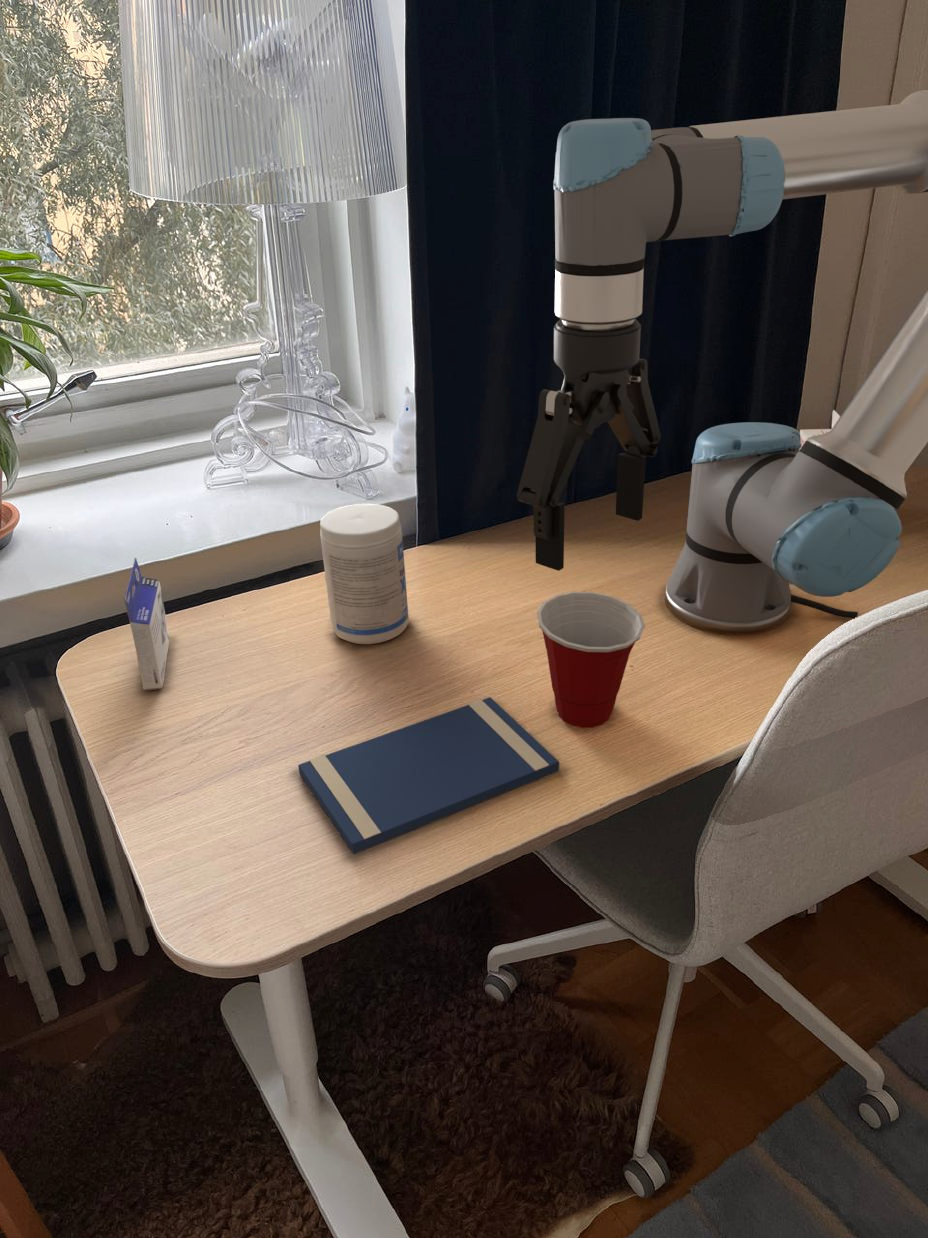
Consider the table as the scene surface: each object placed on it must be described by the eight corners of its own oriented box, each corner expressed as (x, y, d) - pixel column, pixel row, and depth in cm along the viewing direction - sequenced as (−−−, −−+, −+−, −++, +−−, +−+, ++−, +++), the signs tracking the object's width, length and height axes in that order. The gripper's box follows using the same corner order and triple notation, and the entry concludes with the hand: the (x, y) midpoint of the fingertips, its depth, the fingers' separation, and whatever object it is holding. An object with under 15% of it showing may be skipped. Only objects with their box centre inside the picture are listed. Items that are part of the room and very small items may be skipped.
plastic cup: (611, 756, 96) (618, 655, 90) (516, 724, 101) (517, 625, 95) (653, 702, 104) (662, 605, 98) (563, 674, 109) (566, 580, 103)
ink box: (164, 690, 108) (145, 600, 103) (143, 692, 108) (122, 602, 102) (172, 638, 118) (154, 553, 112) (152, 640, 118) (134, 555, 112)
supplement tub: (423, 631, 118) (416, 521, 110) (354, 656, 113) (343, 543, 106) (384, 600, 125) (375, 495, 118) (318, 622, 121) (305, 514, 113)
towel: (490, 705, 104) (490, 695, 103) (559, 771, 94) (559, 760, 94) (299, 774, 95) (297, 763, 94) (353, 854, 85) (352, 843, 84)
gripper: (637, 287, 94) (627, 490, 105) (471, 345, 78) (479, 577, 89) (707, 296, 90) (689, 506, 100) (546, 358, 74) (545, 601, 84)
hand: (590, 540), depth 94 cm, fingers open, 13 cm apart
